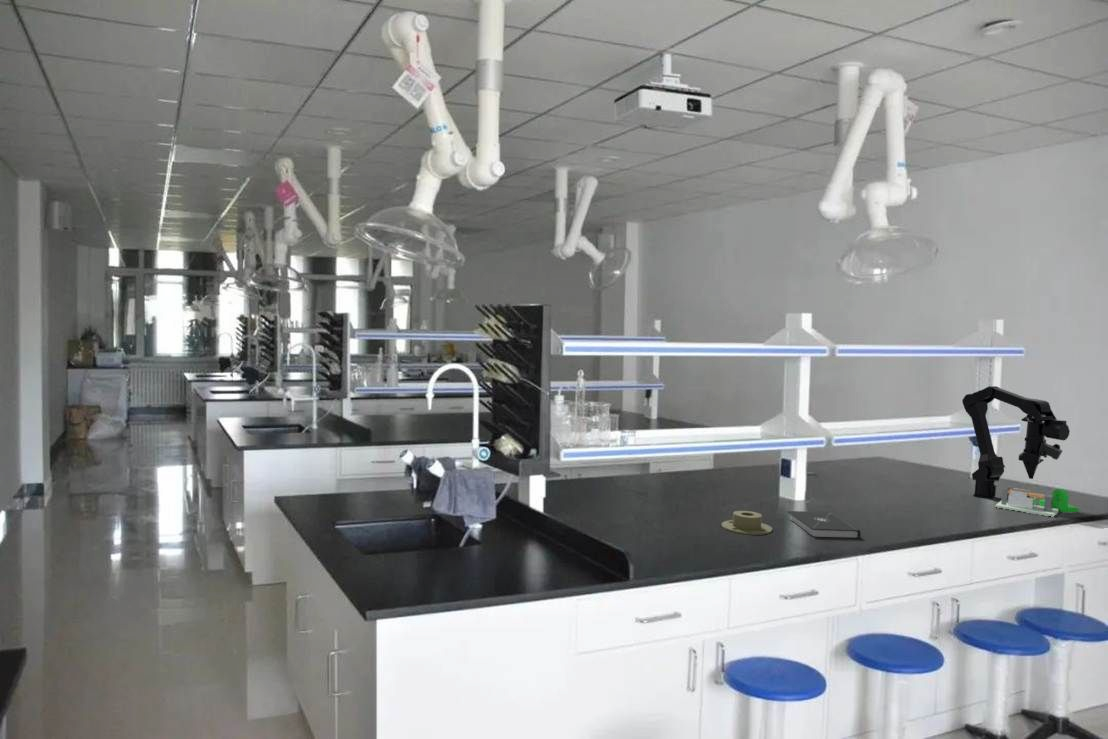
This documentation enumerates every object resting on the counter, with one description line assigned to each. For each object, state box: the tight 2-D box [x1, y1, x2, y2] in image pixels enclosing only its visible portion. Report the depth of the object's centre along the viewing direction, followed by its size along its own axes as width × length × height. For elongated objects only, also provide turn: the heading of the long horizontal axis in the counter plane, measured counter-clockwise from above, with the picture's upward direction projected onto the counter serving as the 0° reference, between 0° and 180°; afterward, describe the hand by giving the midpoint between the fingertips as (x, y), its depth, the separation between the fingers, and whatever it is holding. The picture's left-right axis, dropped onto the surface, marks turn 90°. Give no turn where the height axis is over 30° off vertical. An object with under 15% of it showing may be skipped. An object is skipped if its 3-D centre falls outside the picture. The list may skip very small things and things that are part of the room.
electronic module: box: [1000, 486, 1053, 512], centre depth 291 cm, size 15×7×6 cm, turn 52°
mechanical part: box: [1038, 488, 1079, 513], centre depth 294 cm, size 12×6×8 cm, turn 5°
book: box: [786, 510, 862, 539], centre depth 253 cm, size 22×15×3 cm
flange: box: [721, 510, 773, 536], centre depth 250 cm, size 5×15×15 cm
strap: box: [1008, 489, 1046, 499], centre depth 291 cm, size 13×3×1 cm, turn 52°
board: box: [995, 500, 1060, 518], centre depth 291 cm, size 18×12×1 cm, turn 52°
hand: (1031, 478), depth 294 cm, fingers closed
